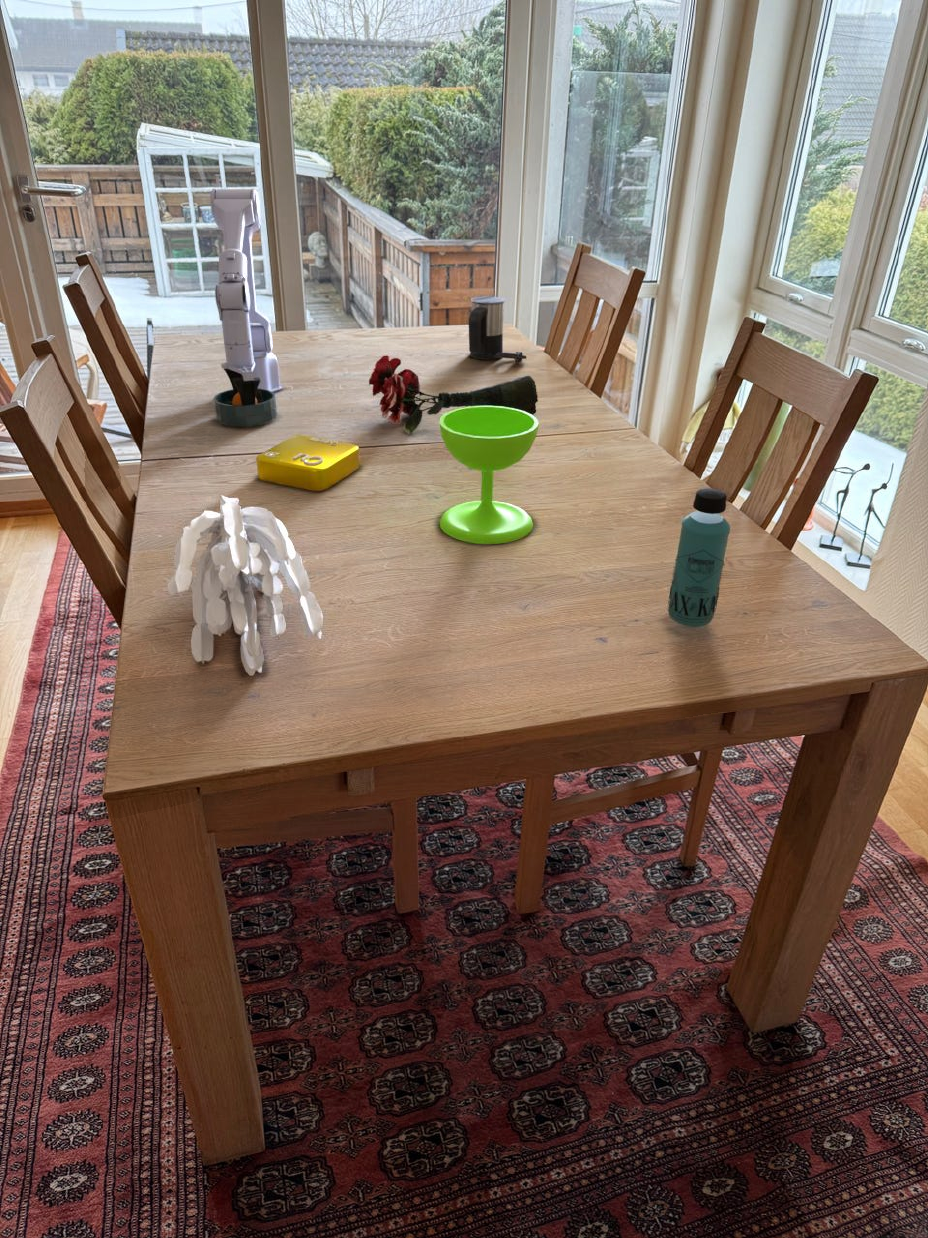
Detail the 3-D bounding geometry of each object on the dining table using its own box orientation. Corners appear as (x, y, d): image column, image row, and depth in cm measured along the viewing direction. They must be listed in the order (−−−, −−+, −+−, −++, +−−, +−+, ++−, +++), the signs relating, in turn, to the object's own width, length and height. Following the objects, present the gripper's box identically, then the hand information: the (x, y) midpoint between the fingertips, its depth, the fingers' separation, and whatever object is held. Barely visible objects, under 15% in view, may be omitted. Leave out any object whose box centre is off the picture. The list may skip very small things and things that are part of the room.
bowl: (246, 406, 209) (243, 384, 206) (289, 416, 203) (287, 394, 200) (204, 421, 199) (200, 399, 197) (248, 432, 194) (245, 409, 191)
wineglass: (466, 551, 147) (467, 444, 137) (423, 514, 159) (422, 413, 149) (551, 532, 153) (557, 428, 144) (503, 498, 165) (507, 400, 156)
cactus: (147, 511, 136) (132, 628, 107) (244, 440, 134) (255, 539, 105) (223, 589, 145) (228, 716, 116) (314, 523, 143) (343, 636, 114)
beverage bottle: (659, 613, 130) (678, 482, 120) (705, 612, 131) (727, 481, 121) (672, 638, 125) (693, 502, 115) (720, 636, 125) (744, 501, 115)
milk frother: (472, 350, 252) (472, 294, 245) (529, 353, 250) (531, 296, 243) (465, 364, 240) (465, 306, 232) (524, 367, 238) (527, 308, 231)
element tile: (363, 466, 178) (362, 442, 175) (321, 493, 166) (319, 468, 164) (298, 453, 183) (296, 430, 181) (253, 479, 172) (251, 455, 169)
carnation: (522, 447, 209) (373, 454, 199) (506, 377, 215) (359, 381, 204) (545, 409, 195) (386, 415, 185) (527, 336, 200) (371, 338, 190)
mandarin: (246, 414, 204) (243, 388, 203) (264, 414, 202) (261, 387, 200) (228, 417, 200) (225, 390, 198) (246, 417, 197) (243, 389, 196)
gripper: (212, 335, 197) (220, 397, 204) (225, 352, 186) (233, 416, 193) (245, 332, 199) (251, 393, 206) (260, 348, 188) (267, 412, 195)
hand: (245, 404), depth 200 cm, fingers open, 7 cm apart
